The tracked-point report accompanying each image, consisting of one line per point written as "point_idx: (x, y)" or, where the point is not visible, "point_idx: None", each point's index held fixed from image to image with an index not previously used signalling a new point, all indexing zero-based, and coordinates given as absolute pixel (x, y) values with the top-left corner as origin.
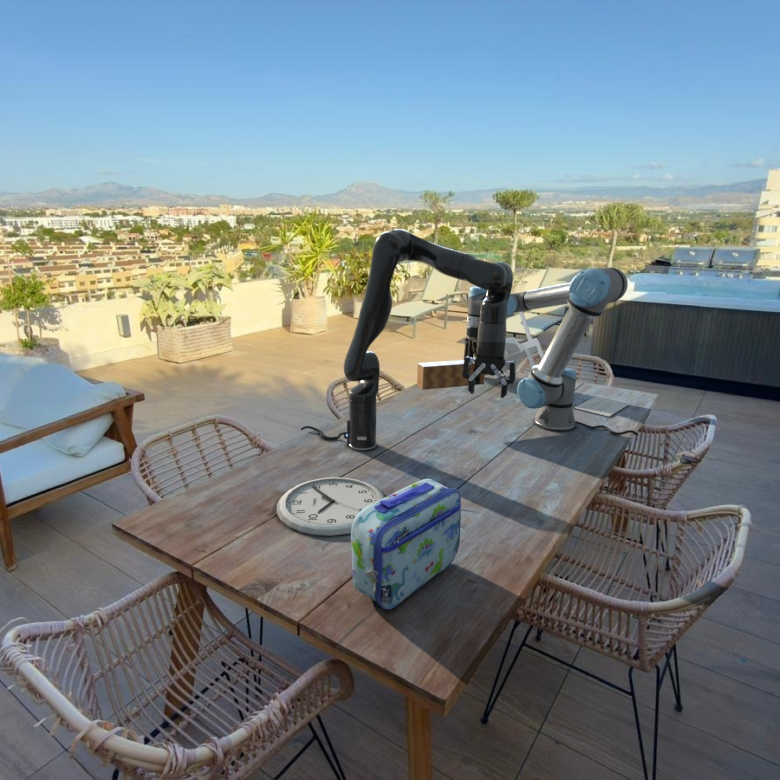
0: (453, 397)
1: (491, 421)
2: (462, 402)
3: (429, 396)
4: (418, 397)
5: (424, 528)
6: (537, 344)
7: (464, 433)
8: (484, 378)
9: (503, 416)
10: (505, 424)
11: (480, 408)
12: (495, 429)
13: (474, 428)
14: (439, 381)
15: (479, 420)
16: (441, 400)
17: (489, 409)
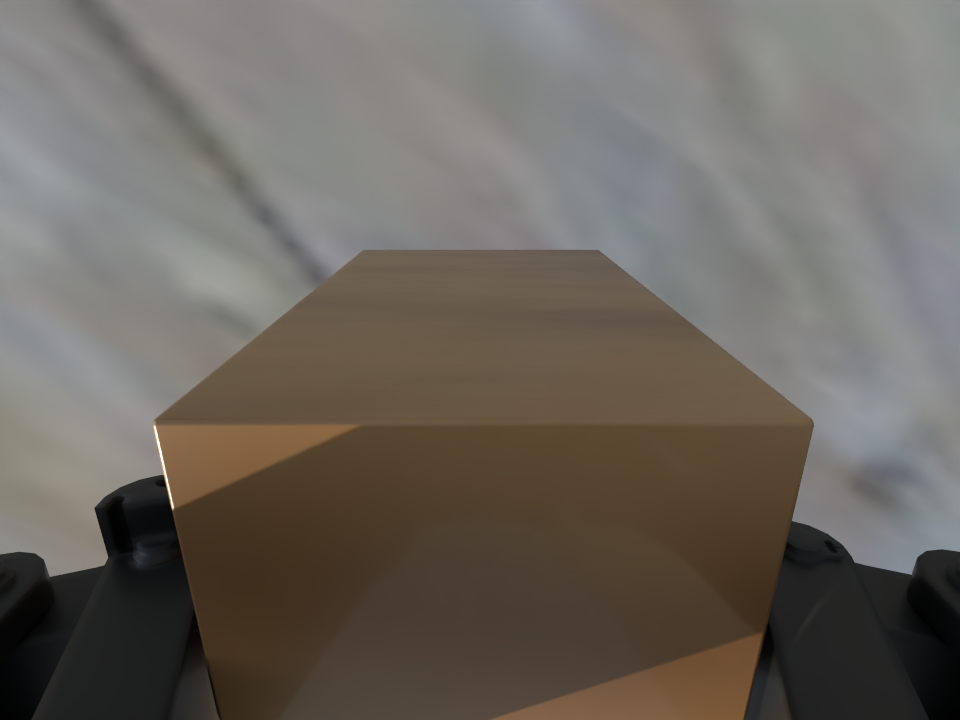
0: (102, 271)
1: (788, 253)
2: (259, 257)
3: (62, 454)
4: (85, 537)
5: None
6: None
7: (878, 542)
8: (623, 271)
9: (737, 66)
10: (909, 171)
11: (460, 173)
12: (945, 315)
13: (841, 447)
14: None
15: (723, 336)
16: None
17: (512, 97)
